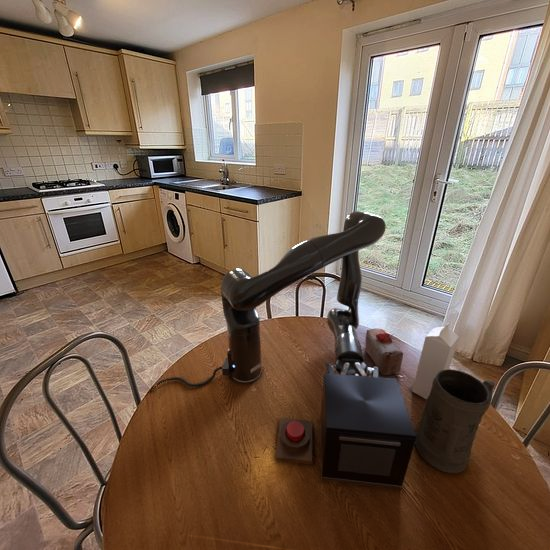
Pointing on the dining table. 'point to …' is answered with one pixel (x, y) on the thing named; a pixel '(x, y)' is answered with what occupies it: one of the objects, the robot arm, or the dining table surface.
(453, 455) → the beer stein
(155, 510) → the dining table surface
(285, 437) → the housing
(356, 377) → the oven
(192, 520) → the dining table surface
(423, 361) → the milk
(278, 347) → the dining table surface
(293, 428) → the button
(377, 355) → the food item
